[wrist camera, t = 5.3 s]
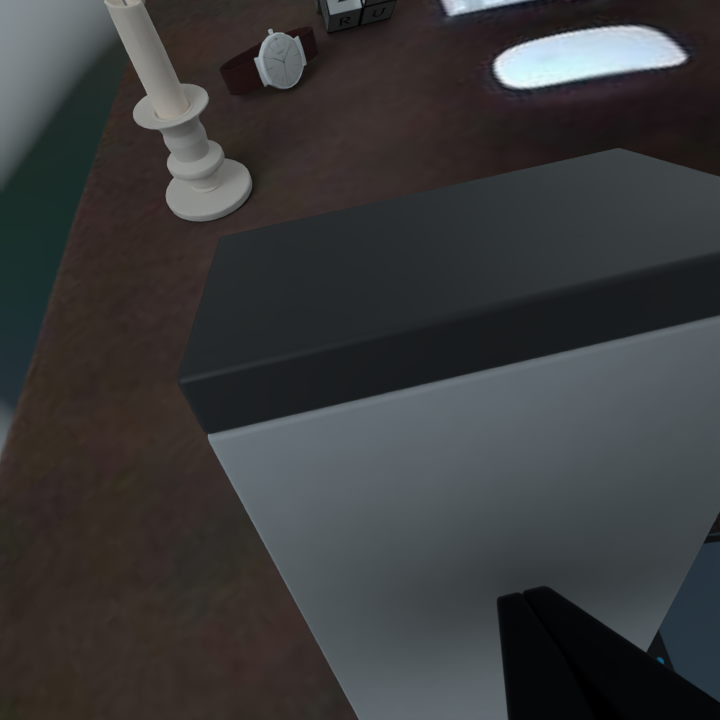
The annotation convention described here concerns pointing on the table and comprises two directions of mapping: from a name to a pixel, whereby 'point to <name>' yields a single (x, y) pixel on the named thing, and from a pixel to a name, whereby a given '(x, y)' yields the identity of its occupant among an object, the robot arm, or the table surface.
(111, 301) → the table surface
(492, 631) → the box with lid
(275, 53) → the watch
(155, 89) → the candle
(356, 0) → the building blocks
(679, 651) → the smartphone
